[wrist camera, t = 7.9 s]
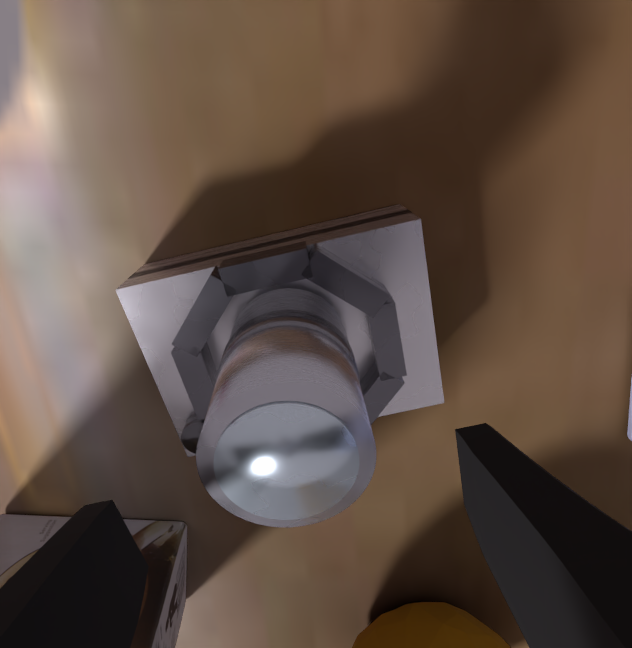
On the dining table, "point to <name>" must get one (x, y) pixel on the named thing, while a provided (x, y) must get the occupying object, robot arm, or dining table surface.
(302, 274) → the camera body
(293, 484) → the lens
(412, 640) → the apple
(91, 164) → the dining table surface
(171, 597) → the coffee box
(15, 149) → the dining table surface
